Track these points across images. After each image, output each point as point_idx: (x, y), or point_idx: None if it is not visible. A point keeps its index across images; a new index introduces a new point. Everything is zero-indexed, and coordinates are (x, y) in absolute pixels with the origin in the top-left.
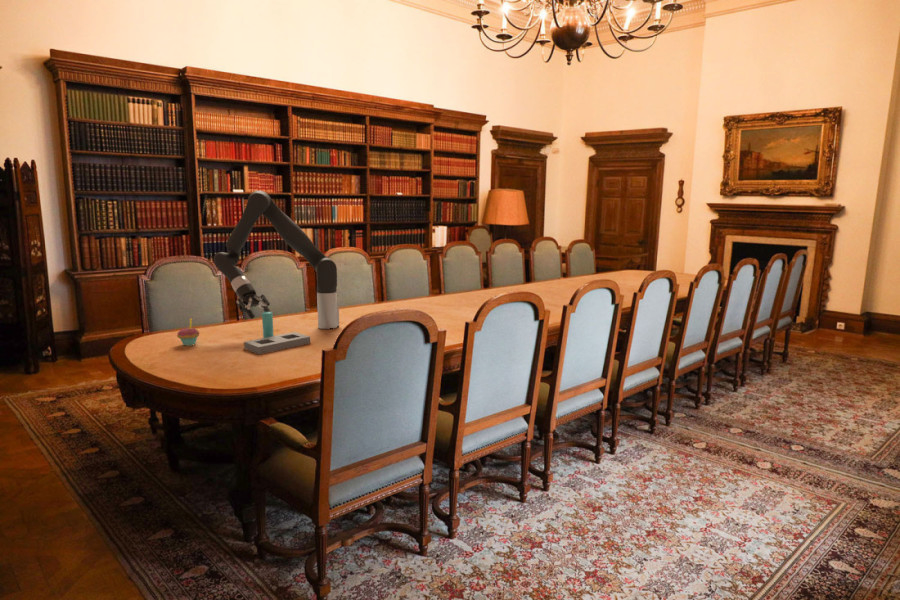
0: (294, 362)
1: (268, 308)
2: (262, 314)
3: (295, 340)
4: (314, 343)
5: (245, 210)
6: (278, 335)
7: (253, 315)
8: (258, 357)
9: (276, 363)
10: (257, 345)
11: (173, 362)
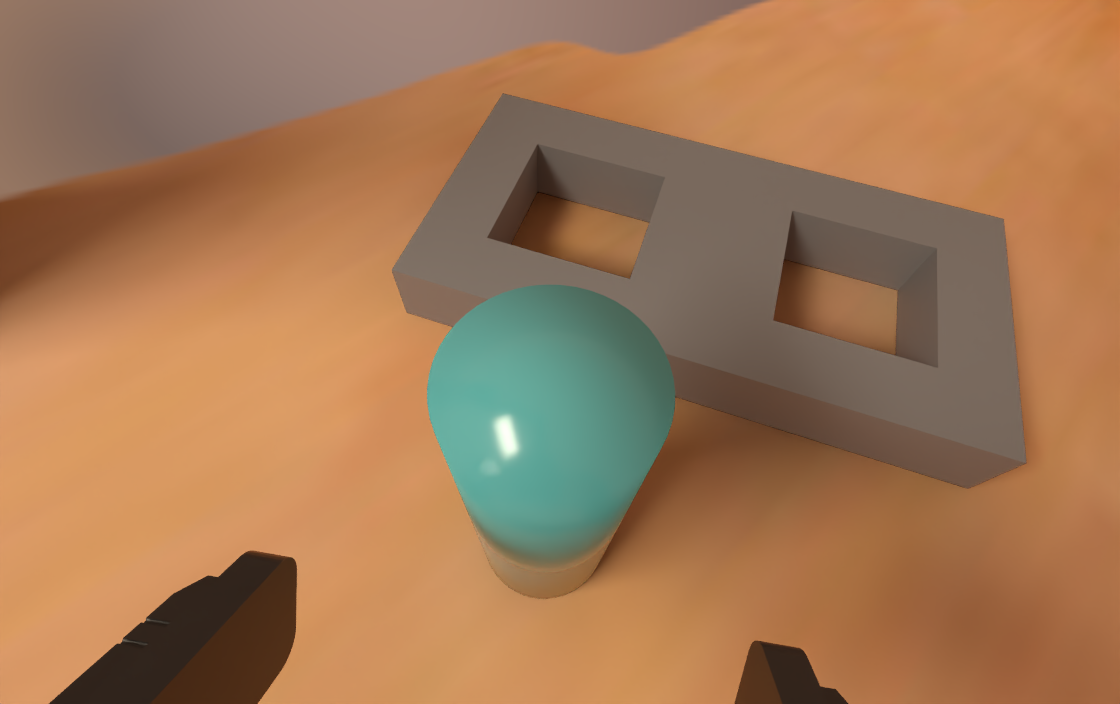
0: (891, 32)
1: (76, 684)
2: (665, 437)
3: (640, 133)
4: None
5: None
6: None
7: (797, 653)
8: None
9: (978, 82)
10: (983, 256)
11: None
